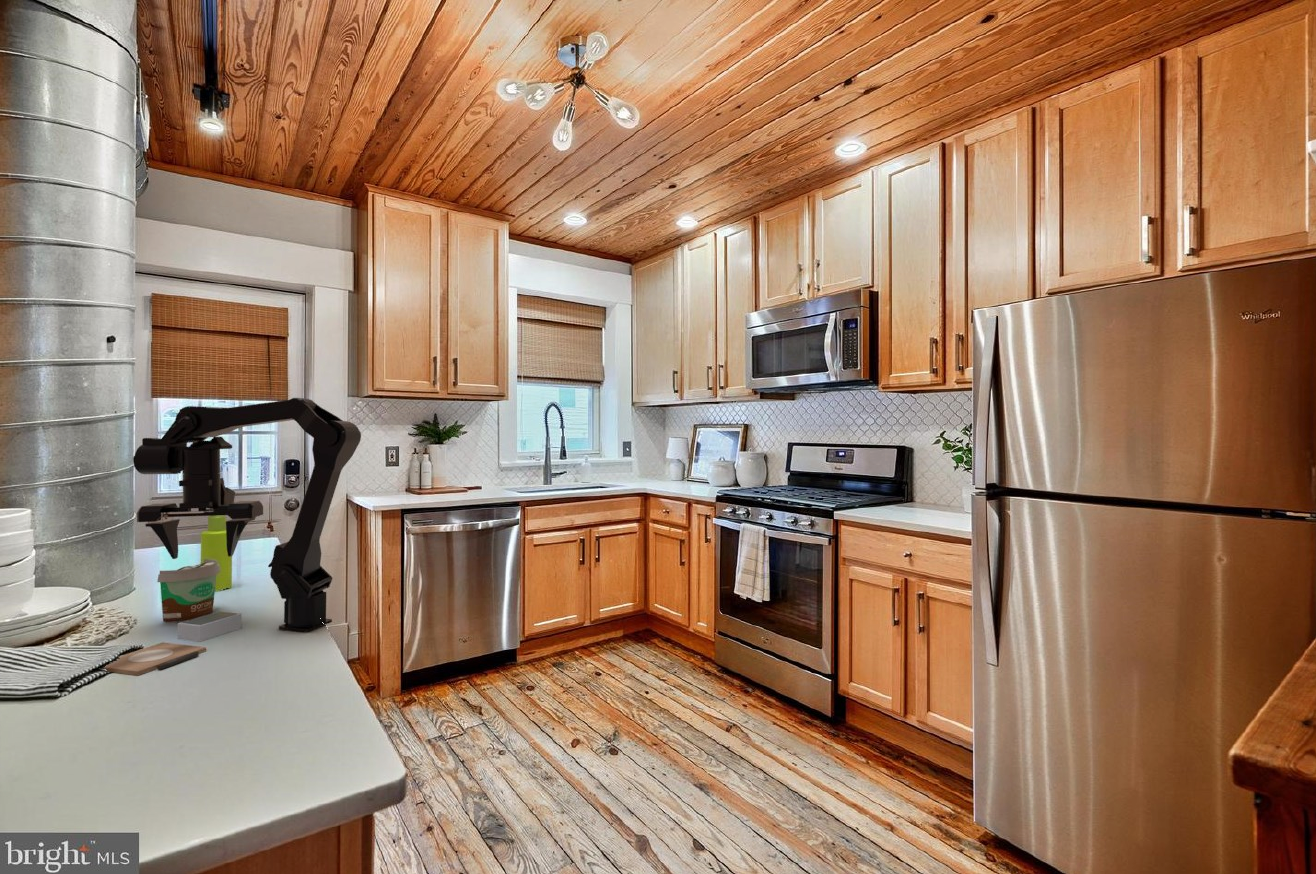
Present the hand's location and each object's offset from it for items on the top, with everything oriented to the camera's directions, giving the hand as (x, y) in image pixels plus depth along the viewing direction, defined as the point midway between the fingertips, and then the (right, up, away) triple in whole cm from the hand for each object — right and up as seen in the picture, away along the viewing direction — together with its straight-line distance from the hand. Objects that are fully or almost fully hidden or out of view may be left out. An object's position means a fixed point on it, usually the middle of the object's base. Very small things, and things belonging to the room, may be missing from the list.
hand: (203, 557), depth 118 cm
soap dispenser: (-17, -13, +26) cm, 33 cm away
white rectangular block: (+4, -13, -4) cm, 14 cm away
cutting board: (+4, -13, -17) cm, 22 cm away
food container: (-6, -13, +6) cm, 15 cm away
